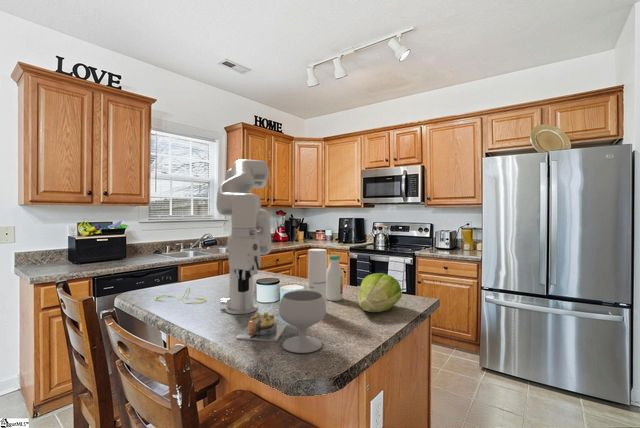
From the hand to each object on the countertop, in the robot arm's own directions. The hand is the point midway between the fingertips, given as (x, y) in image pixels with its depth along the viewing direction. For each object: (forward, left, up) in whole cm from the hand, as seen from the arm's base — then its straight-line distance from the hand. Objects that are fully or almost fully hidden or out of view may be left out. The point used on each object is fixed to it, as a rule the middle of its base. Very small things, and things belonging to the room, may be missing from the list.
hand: (243, 291), depth 101 cm
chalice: (+19, -3, -15) cm, 25 cm away
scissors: (-44, +39, -16) cm, 61 cm away
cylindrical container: (+20, +28, -15) cm, 37 cm away
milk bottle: (+25, +50, -15) cm, 58 cm away
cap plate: (+5, +5, -15) cm, 16 cm away
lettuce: (+43, +35, -15) cm, 57 cm away
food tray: (+4, +2, -12) cm, 13 cm away
